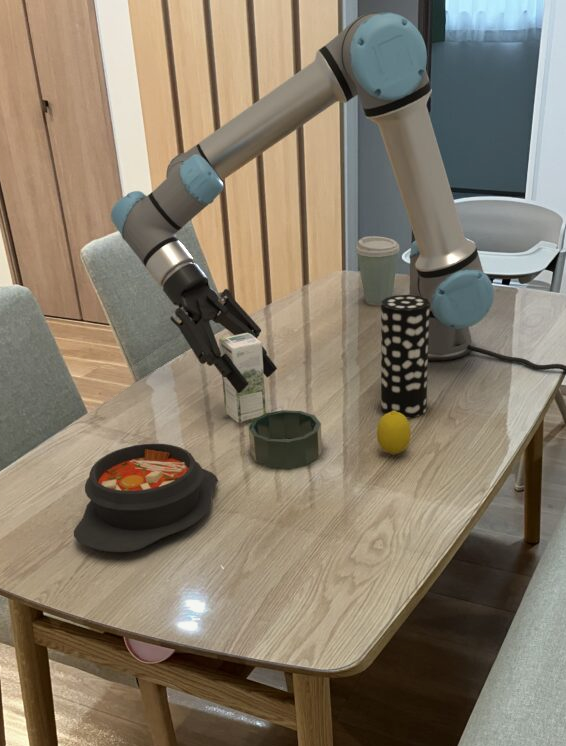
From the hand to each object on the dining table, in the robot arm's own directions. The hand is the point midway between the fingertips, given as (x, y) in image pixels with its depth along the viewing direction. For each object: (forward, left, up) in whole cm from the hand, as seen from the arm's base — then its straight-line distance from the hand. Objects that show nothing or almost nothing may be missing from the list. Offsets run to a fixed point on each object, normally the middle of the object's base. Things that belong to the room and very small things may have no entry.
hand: (258, 380), depth 145 cm
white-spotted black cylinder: (-25, -8, -8) cm, 28 cm away
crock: (-7, +11, -8) cm, 15 cm away
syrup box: (+3, -1, -8) cm, 8 cm away
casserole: (+9, +33, -8) cm, 35 cm away
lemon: (-25, +10, -8) cm, 28 cm away
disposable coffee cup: (-13, -69, -8) cm, 71 cm away
